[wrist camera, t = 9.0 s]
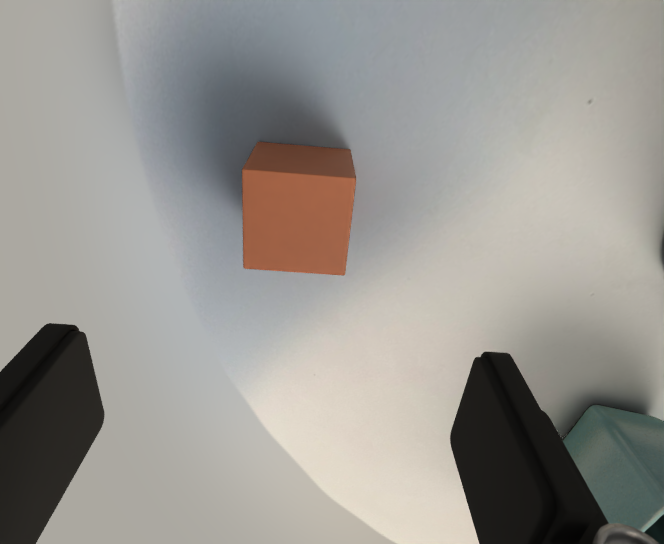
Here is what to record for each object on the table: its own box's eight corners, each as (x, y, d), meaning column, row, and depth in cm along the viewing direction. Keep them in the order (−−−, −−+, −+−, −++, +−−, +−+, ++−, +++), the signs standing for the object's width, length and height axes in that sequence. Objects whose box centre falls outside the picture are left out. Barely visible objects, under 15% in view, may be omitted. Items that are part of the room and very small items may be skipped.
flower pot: (518, 460, 34) (576, 592, 26) (578, 377, 29) (669, 505, 22) (618, 477, 35) (703, 608, 27) (690, 400, 31) (814, 529, 23)
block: (257, 227, 24) (243, 268, 20) (257, 141, 21) (241, 168, 17) (341, 233, 24) (344, 275, 20) (350, 149, 22) (356, 177, 18)
